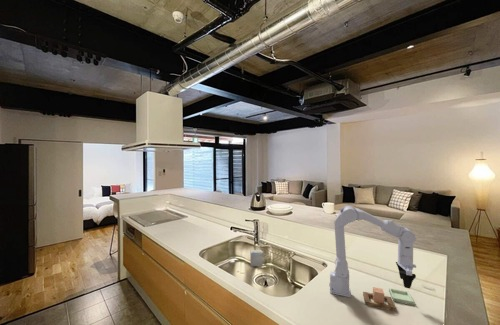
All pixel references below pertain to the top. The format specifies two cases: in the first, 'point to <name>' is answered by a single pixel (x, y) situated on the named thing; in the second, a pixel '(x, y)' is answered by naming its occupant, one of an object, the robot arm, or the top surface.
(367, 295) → the pocket board
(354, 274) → the top surface
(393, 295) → the tray
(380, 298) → the block
